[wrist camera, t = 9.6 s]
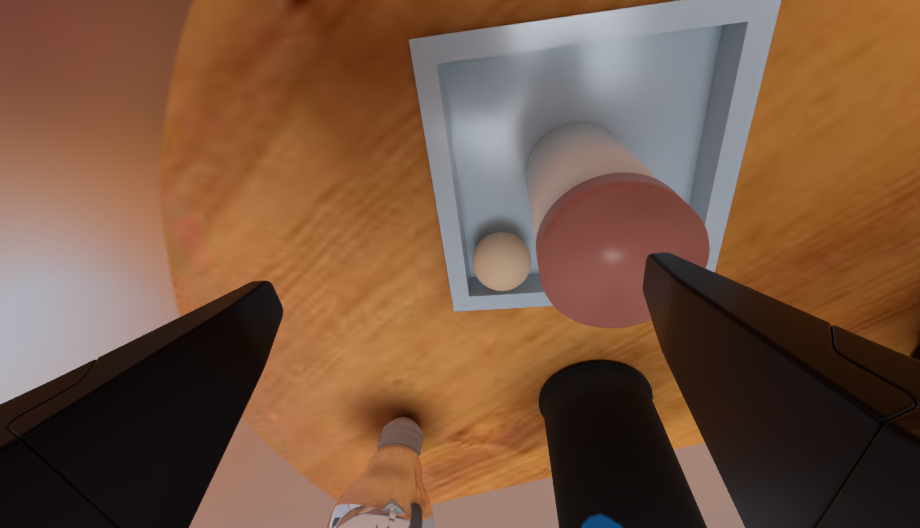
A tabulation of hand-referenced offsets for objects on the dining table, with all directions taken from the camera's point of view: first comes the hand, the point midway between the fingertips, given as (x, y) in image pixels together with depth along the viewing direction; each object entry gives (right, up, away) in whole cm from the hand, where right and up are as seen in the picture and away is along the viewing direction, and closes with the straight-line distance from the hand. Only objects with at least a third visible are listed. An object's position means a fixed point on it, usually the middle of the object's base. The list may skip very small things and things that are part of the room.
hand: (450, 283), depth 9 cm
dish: (+6, +5, +12) cm, 14 cm away
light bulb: (-4, -12, +24) cm, 27 cm away
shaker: (+6, +5, +11) cm, 14 cm away
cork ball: (+3, +1, +14) cm, 14 cm away
